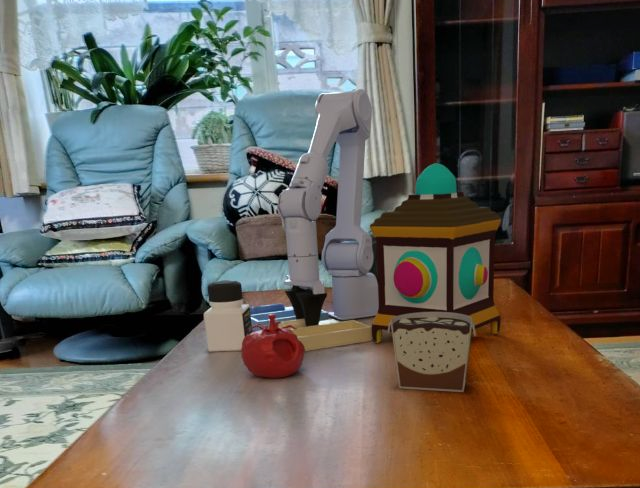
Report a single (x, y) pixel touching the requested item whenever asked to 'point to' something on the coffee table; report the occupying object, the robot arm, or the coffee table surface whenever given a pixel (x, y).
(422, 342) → the food container
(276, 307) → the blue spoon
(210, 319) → the medicine bottle
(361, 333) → the cream bin
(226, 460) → the coffee table surface
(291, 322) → the pale yellow bar
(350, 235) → the robot arm
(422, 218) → the decorative lantern
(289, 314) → the blue bin
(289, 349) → the pomegranate
